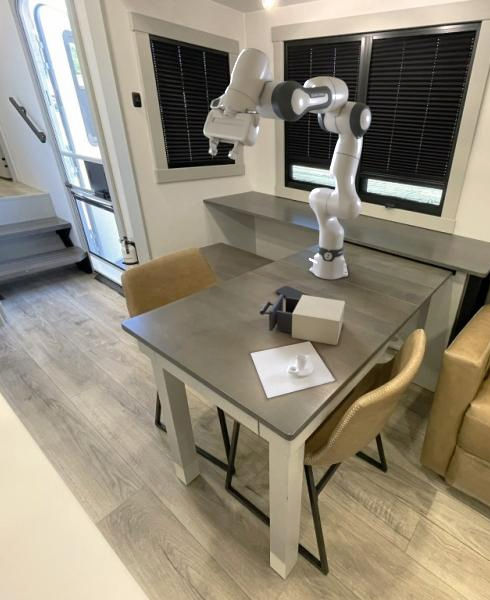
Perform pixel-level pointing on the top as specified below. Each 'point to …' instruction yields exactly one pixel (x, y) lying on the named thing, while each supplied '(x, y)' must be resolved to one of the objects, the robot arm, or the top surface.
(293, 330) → the cabinet
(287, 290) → the phone
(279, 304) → the drawer
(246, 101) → the robot arm
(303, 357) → the teacup and saucer
